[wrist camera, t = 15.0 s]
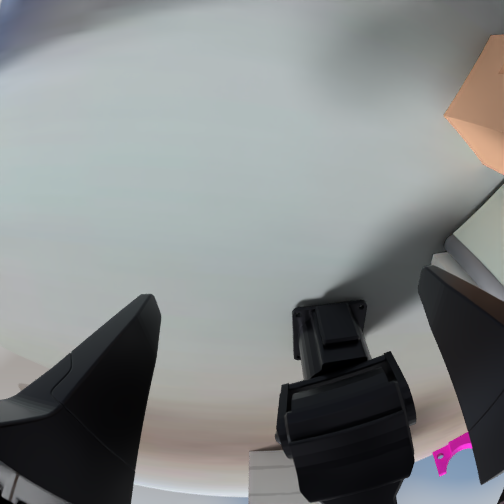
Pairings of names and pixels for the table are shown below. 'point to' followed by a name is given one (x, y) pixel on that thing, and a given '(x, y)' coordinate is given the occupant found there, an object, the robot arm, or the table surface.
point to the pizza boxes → (273, 479)
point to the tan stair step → (483, 106)
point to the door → (482, 245)
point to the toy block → (450, 452)
